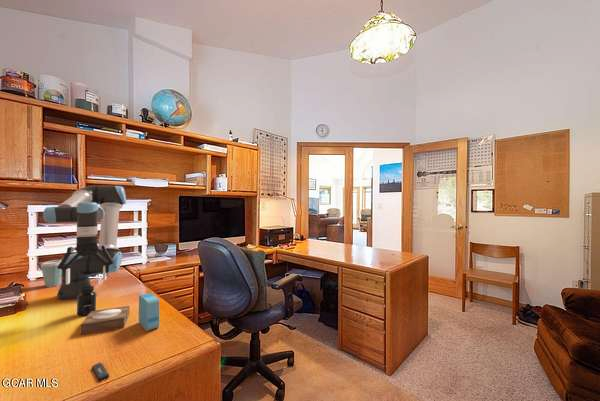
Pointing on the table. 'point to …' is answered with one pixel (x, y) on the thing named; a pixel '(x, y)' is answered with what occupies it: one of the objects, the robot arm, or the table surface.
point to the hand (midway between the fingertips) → (86, 281)
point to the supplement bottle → (86, 301)
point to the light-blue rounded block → (149, 311)
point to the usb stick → (100, 371)
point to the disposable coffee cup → (51, 273)
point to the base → (105, 320)
